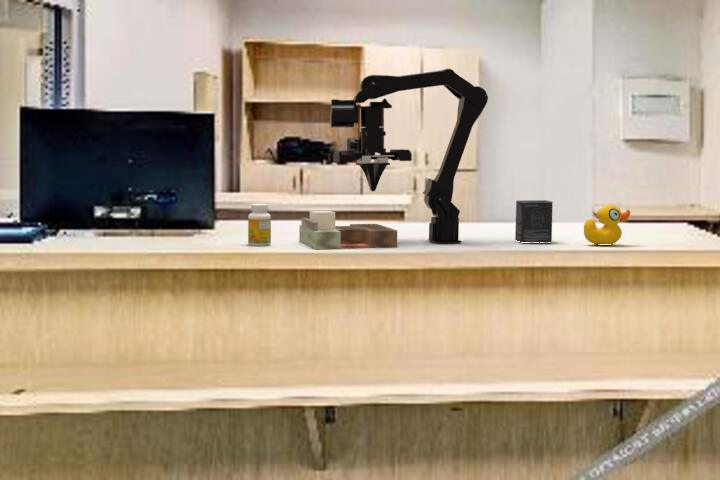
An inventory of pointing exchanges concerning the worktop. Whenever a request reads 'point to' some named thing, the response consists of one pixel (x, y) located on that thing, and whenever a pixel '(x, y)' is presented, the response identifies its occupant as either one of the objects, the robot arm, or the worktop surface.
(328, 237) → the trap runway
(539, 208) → the box
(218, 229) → the worktop surface
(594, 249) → the worktop surface
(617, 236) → the duckling
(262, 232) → the supplement bottle
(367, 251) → the worktop surface
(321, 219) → the cream block
